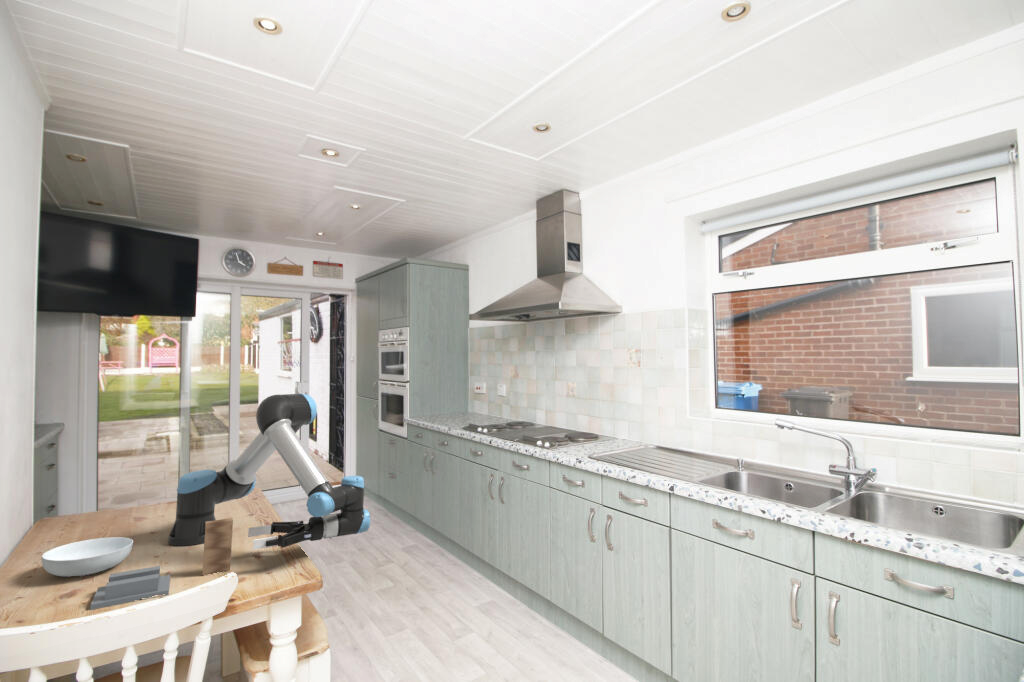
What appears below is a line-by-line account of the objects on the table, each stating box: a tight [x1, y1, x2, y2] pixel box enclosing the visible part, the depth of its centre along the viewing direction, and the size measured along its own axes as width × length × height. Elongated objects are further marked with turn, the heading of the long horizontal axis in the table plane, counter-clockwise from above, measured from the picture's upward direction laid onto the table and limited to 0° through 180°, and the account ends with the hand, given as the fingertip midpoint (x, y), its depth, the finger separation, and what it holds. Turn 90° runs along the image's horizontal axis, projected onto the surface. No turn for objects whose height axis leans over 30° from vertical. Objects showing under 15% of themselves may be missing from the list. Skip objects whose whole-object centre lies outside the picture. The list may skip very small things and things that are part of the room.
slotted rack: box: [89, 565, 171, 610], centre depth 131 cm, size 16×12×5 cm
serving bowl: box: [41, 536, 134, 577], centre depth 145 cm, size 21×21×7 cm
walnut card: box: [202, 517, 234, 576], centre depth 146 cm, size 7×2×15 cm, turn 124°
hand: (250, 538), depth 150 cm, fingers open, 13 cm apart
